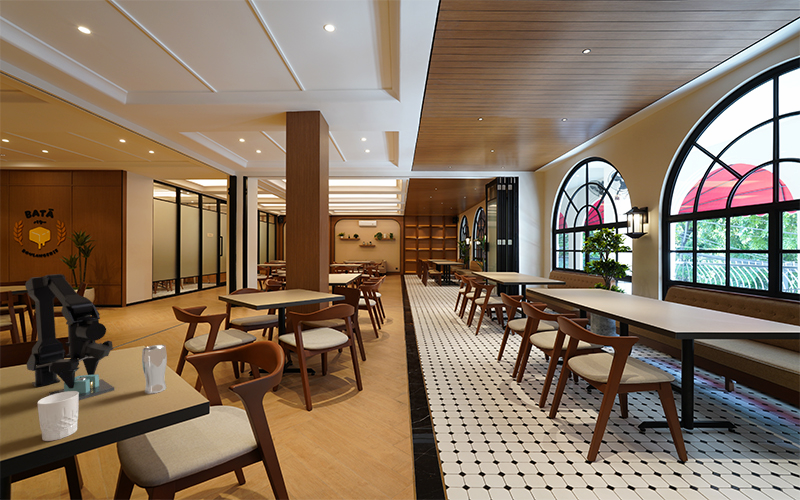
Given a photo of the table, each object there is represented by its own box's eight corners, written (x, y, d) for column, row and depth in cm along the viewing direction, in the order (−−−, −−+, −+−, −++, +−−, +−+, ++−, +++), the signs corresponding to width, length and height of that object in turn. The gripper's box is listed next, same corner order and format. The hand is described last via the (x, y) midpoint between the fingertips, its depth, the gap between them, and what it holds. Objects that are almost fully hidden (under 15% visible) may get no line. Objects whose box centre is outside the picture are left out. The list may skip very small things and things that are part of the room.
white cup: (87, 429, 95) (85, 392, 95) (50, 444, 88) (48, 405, 88) (68, 424, 98) (67, 389, 98) (31, 440, 91) (30, 401, 90)
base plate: (49, 395, 118) (48, 381, 118) (101, 381, 130) (101, 368, 130) (59, 405, 110) (58, 390, 110) (114, 390, 122) (113, 375, 121)
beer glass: (172, 386, 124) (171, 344, 123) (157, 394, 117) (155, 350, 116) (154, 386, 124) (152, 344, 124) (137, 394, 117) (136, 350, 117)
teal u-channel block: (64, 394, 116) (63, 382, 116) (78, 387, 123) (78, 375, 123) (86, 392, 117) (85, 381, 117) (99, 385, 124) (98, 374, 124)
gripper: (86, 343, 112) (88, 391, 112) (123, 329, 130) (124, 371, 130) (46, 346, 110) (48, 395, 110) (89, 331, 128) (91, 373, 129)
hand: (81, 382), depth 120 cm, fingers open, 9 cm apart
